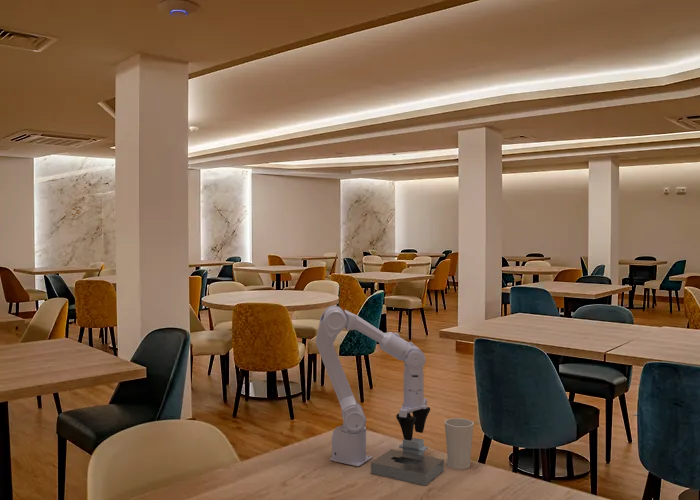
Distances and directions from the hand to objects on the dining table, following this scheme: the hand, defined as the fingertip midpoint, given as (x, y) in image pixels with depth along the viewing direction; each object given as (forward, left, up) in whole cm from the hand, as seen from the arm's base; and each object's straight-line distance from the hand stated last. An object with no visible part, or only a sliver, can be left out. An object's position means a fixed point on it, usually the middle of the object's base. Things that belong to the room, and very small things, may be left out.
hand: (413, 435), depth 179 cm
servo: (0, 0, -7) cm, 7 cm away
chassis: (+3, -10, -7) cm, 12 cm away
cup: (+13, +2, -7) cm, 15 cm away
